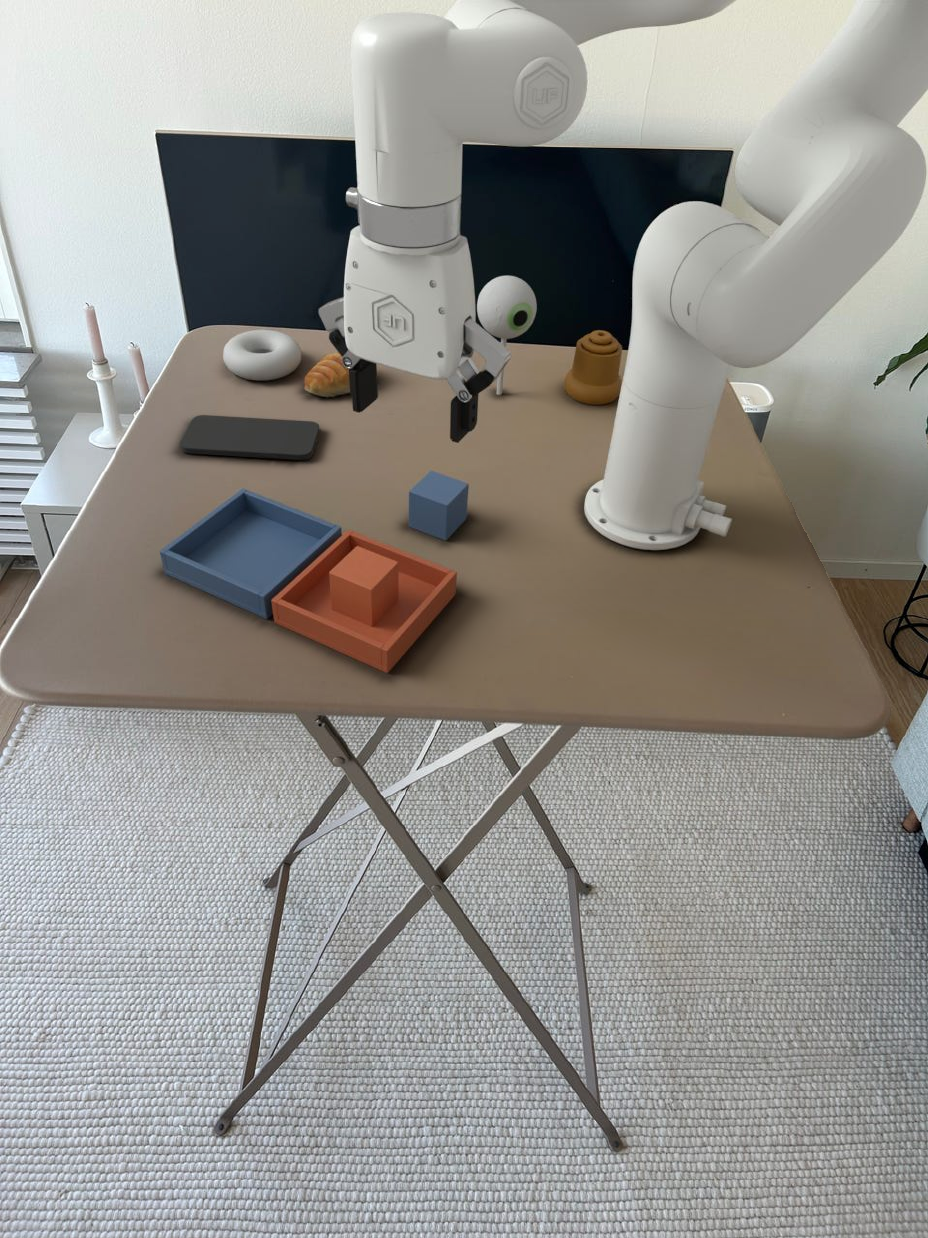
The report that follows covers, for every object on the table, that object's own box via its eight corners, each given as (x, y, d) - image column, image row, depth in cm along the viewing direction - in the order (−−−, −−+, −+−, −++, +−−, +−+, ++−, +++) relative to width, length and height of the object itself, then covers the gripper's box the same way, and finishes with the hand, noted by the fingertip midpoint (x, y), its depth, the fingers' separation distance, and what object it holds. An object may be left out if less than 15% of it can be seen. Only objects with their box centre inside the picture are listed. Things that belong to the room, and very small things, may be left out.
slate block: (466, 518, 93) (469, 483, 90) (445, 541, 90) (447, 505, 87) (430, 505, 95) (431, 470, 92) (408, 526, 92) (408, 491, 89)
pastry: (328, 407, 108) (326, 379, 106) (291, 388, 112) (288, 360, 109) (382, 381, 114) (381, 353, 111) (345, 364, 117) (344, 336, 114)
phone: (194, 413, 104) (321, 421, 104) (195, 420, 105) (321, 427, 105) (176, 447, 99) (310, 455, 99) (178, 454, 99) (310, 462, 99)
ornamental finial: (622, 383, 117) (617, 411, 111) (567, 375, 118) (559, 402, 112) (633, 325, 111) (628, 351, 106) (575, 317, 112) (567, 342, 107)
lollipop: (488, 412, 110) (497, 293, 99) (461, 386, 114) (468, 270, 104) (536, 401, 112) (551, 285, 102) (509, 376, 117) (520, 262, 106)
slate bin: (342, 548, 89) (341, 526, 87) (266, 619, 81) (263, 596, 79) (246, 510, 92) (242, 487, 91) (164, 573, 84) (159, 551, 83)
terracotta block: (398, 598, 83) (398, 561, 80) (372, 627, 80) (371, 589, 77) (358, 582, 84) (357, 545, 81) (331, 609, 81) (328, 572, 78)
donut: (280, 392, 111) (315, 357, 118) (277, 367, 108) (313, 332, 115) (210, 376, 113) (248, 342, 120) (205, 351, 110) (245, 318, 117)
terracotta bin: (455, 594, 84) (457, 572, 83) (387, 673, 76) (387, 651, 74) (349, 551, 88) (348, 529, 86) (273, 622, 80) (271, 600, 78)
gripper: (283, 209, 65) (305, 413, 77) (493, 257, 60) (482, 468, 72) (339, 181, 70) (352, 377, 82) (537, 223, 65) (520, 426, 77)
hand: (412, 419), depth 77 cm, fingers open, 9 cm apart
